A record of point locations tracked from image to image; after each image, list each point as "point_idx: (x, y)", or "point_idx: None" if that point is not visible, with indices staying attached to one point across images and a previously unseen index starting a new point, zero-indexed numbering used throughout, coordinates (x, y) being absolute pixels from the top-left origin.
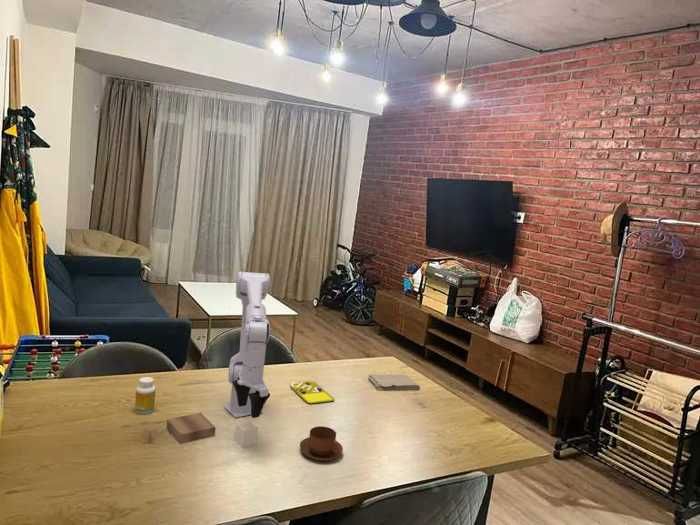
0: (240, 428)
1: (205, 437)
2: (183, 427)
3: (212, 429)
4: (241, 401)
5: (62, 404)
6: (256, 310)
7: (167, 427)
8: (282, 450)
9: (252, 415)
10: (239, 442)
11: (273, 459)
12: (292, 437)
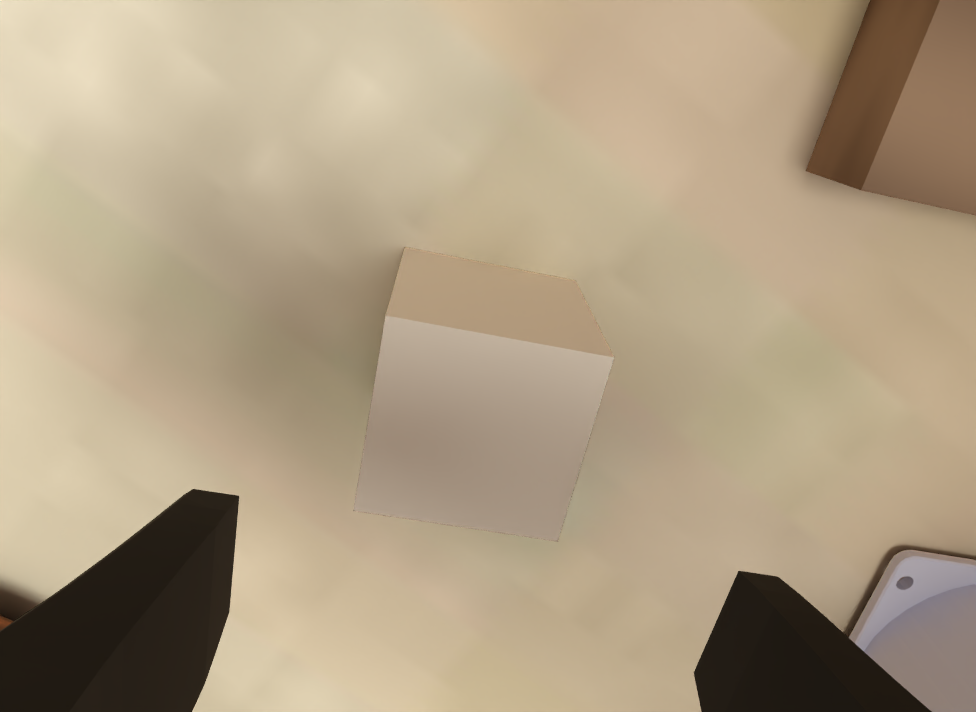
0: (484, 330)
1: (852, 49)
2: None
3: (865, 147)
4: (769, 678)
5: None
6: None
7: None
8: (144, 511)
9: (164, 513)
10: (469, 267)
11: (33, 349)
12: (294, 693)
